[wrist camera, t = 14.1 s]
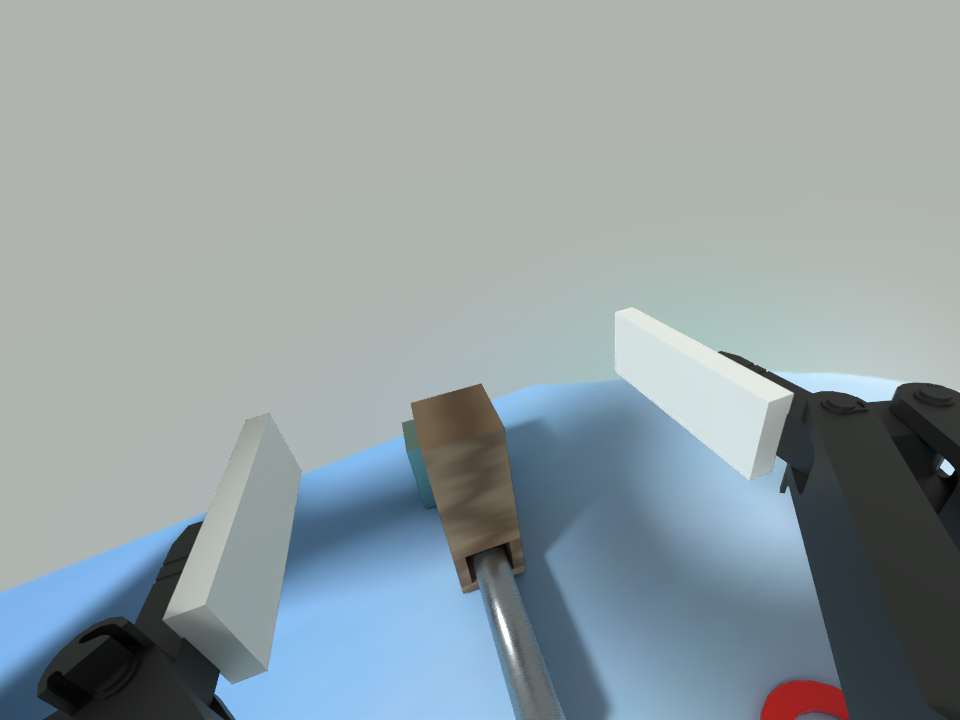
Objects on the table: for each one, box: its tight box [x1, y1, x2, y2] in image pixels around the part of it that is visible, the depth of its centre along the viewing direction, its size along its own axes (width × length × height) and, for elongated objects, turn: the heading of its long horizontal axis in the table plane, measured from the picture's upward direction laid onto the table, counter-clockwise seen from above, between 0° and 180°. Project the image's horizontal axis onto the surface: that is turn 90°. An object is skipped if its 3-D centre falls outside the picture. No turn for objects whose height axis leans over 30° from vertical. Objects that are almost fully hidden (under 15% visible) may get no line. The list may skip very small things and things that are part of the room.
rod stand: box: [402, 420, 566, 720], centre depth 35 cm, size 10×29×9 cm, turn 15°
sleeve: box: [411, 384, 525, 594], centre depth 34 cm, size 6×6×18 cm
